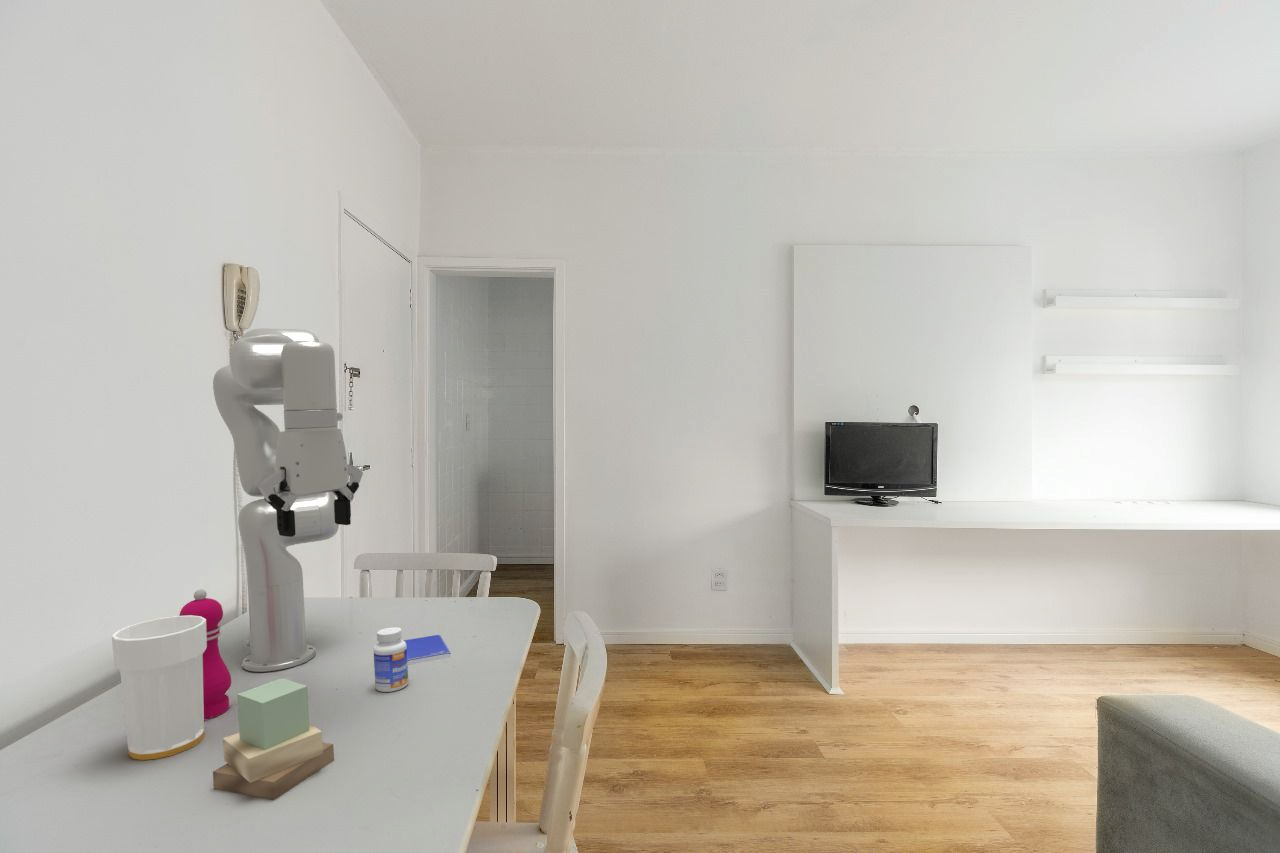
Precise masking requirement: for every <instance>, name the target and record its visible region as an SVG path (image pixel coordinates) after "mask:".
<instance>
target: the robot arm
mask: <svg viewBox="0 0 1280 853" xmlns="http://www.w3.org/2000/svg"><path fill="white" fill-rule="evenodd" d="M335 356H336V355H335V351H334V348H333V346H332V345H331V344H330V343H326V342H322V341H320V339H319V338H318V337H317V336H316V334H314V333H313V332H311V331H310V330H306V329H297V328H296V329H291V328H267V327H266V328H264V327H263V328H255V329H254V328H253V329H250V330H248V331H247V332H245V333H243V334H242V335H241V336H240V338H238V339H237V340H235V342H234V343H233V345H232V348H231V351H230V356H229V365H226V366H222V367H221V368H219V369H218V370H217V371H216V372H215V374H214V376H213V379H212V388H213V389H212V390H213V396H214V402H215V404H216V407H217V410H218V412H219V414H220V416H221V418H222V420H223V422H224V424H225V425H226V427H227V429H228V430H229V432H230V434H231V436H232V440H233V446H234V451H235V453H234V454H235V459H236V465H237V471H238V477H239V481H240V484H241V487H242V490H243V491H244V493H246V494H247V495H248V496H250V497H258V498H260V499H257V500H253V501H250V502H249V503H246V504H245V505H244V506H243V507H242V508H241V510H239V514H238V519H237V521H238V522H237V524H238V529H239V534H240V538H241V543H242V547H243V552H244V559H245V560H244V561H245V568H246V582H247V583H246V584H247V598H248V600H247V602H248V614H249V616H248V617H249V631H250V632H249V633H250V635H249V636H250V637H249V638H247V639H245V640H244V646H246V647H249V652H250V654H248V655H246V656H245V657H244V659H242V668H243V669H244V670H245V671H249V672H254V673H255V672H256V673H260V672H262V673H263V672H264V673H265V672H275V671H281V670H285V669H289V668H293V667H296V666H300V665H302V664H304V663H306V662H308V661H310V660H311V659H312V658H314V656H316V647H315V646H314V645H312V644H309V643H307V632H306V630H307V629H306V614H305V613H306V612H305V611H306V610H305V597H304V596H305V595H304V594H305V593H304V592H305V591H304V576H303V575H304V574H303V568H302V565H301V563H300V561H299V560H298V559H297V558H296V556H294V555H292V553H291V552H289V551H288V549H287V547H289V546H295V545H300V544H307V543H313V542H320V541H326V540H329V539H332V538H333V537H334V536H335V535H336V534H337V533H338V530H339V526H340V525H341V526H342V525H343V526H349V525H350V526H351V524H352V520H351V517H352V509H351V501H352V500H353V499H354V497H355V493H356V492H357V491H358V489H359V487H360V483H361V480H362V477H363V475H364V472H363V471H362V470H361V469H358V468H357V467H354V466H353V465H350V464H348V458H347V452H346V451H347V450H346V445H345V440H344V437H343V432H342V429H341V428H339V427H338V422H340V421H342V420H343V418H344V417H343V413H341V412H338V408H337V407H338V403H337V402H338V401H337V385H336V384H337V382H336V380H337V377H336V361H335V360H336V358H335ZM277 405H278V406H279V405H283V420H284V422H283V423H284V424H283V425H284V431H283V430H282V431H281V430H280V428H279V426H278V425H277V424H276V422H274V420H272V419H271V418H270V417H269V416H268V415H266V414H265V413H264V412H263V411H260V410H259V409H258V408H256V406H277ZM261 497H263V498H261Z"/></svg>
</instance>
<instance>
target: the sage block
mask: <svg viewBox="0 0 1280 853" xmlns="http://www.w3.org/2000/svg"><path fill="white" fill-rule="evenodd" d="M236 695H237V696H236V697H237V699H236V700H237V712H238V716H237V717H238V733H239V736H240V740H242V741H245V742H247V743H249V744H252V745H254V746H257V747H259V748H261V749H264V750H267V749H269V748H271V747H273V746H276V745H278V744H280V743H282V742H285V741H287V740H289V739H291V738H294V737H296V736H298V735H300V734H303V733H305V732H307V731H310V730H309V724H310V717H309V716H310V714H309V712H310V710H309V699H308V698H309V697H308V696H309V694H308V685H304V684H301V683H298V682H295V681H292V680H288V679H285V678H278V679H274V680H273V681H270V682H267V683H264V684H261V685H259V686H256V687H254V688H253V687H252V688H250V689H248V690H245V691H242V692H240V693H236Z"/></svg>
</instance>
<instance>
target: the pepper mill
mask: <svg viewBox="0 0 1280 853" xmlns="http://www.w3.org/2000/svg"><path fill="white" fill-rule="evenodd" d="M207 596H208V595H207V591H206V590H205V589H197V590H196V591H195V592H194V593H193V598H194V599H193V600H190V601H189V602H187V603H186V604H185V605H183V607H182V608H181V609H180V611H179V615H178V616H187V615H193V616H201V617H203V618H205V619H206V634H207V648H206V650H205V651H204V653H203V701H204V720H209V719H212V718H214V717H217V716H221V715H223V713H226V712H227V711H228V710H229V708H230V697H229V695H227V691H229V690H230V688H231V686H232V676H231V672H230V670H229V668H228V667H227V665H226V663H225V662H224V659H223V658H222V656H221V653H220V649H219V637H220V636H221V634H222V633H221V626H220V625H219V623H220V622H221V621H222V619H223V616H224V611H223V606H222V604H221V603H220V602H219V601H218V600H216V599H214V598H207Z"/></svg>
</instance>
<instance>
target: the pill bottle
mask: <svg viewBox="0 0 1280 853" xmlns="http://www.w3.org/2000/svg"><path fill="white" fill-rule="evenodd" d="M402 637H403V633H402V628H400V627H394V626H393V627H385V628H382V629H379V630H378V631H377V632H376V640H377V643H376V644H375V645H374V647H373V667H374V686H375V689H376V691H379V692H380V693H381V692H383V693H390V692H396V691H399V690H402V689H404V688H406V687H407V686H408V684H409V669H408V668H409V667H408V666H409V665H407V645H406V642H405V641H403V639H402Z"/></svg>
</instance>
